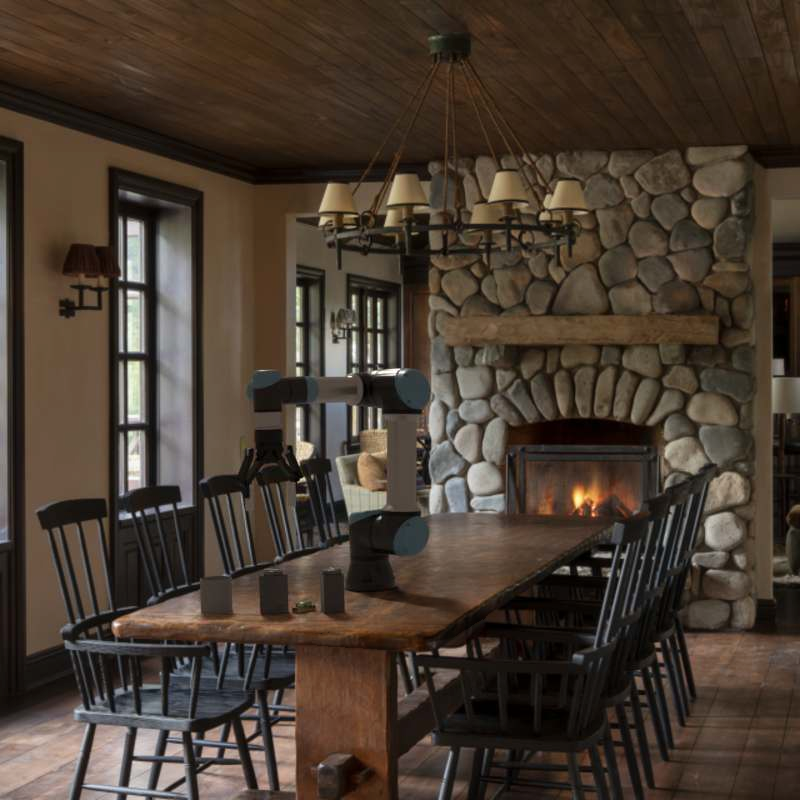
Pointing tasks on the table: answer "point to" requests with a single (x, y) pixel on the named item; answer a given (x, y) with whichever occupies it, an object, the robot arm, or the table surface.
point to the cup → (216, 594)
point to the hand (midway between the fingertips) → (271, 508)
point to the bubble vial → (303, 607)
